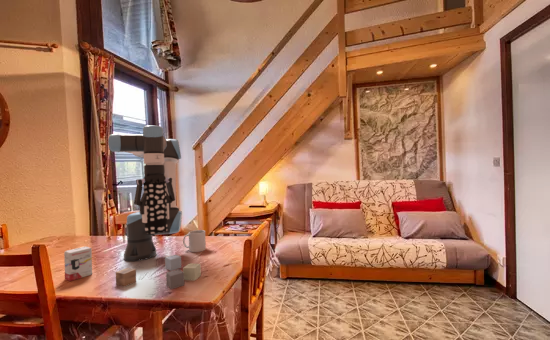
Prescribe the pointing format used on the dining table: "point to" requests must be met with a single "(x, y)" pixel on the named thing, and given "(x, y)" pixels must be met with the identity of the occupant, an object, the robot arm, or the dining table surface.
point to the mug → (196, 241)
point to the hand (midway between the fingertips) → (156, 220)
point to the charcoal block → (175, 278)
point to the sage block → (192, 271)
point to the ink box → (78, 263)
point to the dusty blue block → (173, 262)
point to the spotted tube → (156, 207)
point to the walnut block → (125, 277)
